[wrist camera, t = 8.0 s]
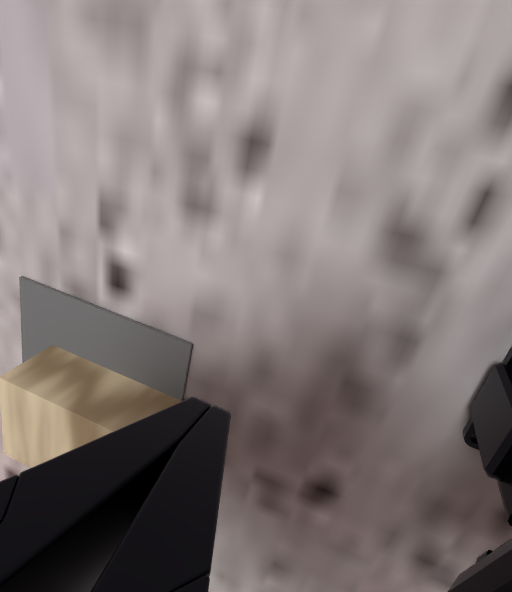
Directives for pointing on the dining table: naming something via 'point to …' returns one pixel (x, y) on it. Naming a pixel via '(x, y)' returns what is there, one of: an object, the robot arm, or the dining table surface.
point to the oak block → (68, 405)
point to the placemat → (102, 338)
